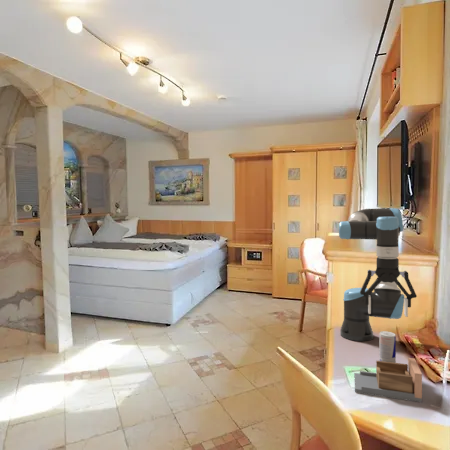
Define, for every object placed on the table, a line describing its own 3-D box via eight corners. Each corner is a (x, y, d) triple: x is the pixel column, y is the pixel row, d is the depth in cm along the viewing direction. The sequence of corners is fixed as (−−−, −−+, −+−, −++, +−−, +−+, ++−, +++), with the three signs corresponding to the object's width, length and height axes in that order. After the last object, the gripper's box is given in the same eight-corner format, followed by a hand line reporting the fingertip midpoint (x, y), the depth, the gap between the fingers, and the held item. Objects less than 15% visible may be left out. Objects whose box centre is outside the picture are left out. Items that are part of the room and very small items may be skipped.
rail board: (354, 376, 127) (354, 351, 127) (414, 384, 120) (414, 358, 120) (355, 392, 116) (355, 365, 115) (421, 402, 109) (421, 374, 109)
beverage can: (397, 376, 126) (397, 336, 126) (381, 375, 128) (381, 335, 127) (393, 369, 132) (393, 331, 131) (377, 368, 133) (377, 330, 132)
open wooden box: (376, 376, 124) (376, 360, 123) (407, 380, 120) (407, 364, 120) (378, 390, 114) (378, 372, 114) (412, 395, 111) (412, 377, 111)
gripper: (353, 257, 129) (353, 314, 129) (426, 259, 121) (425, 320, 121) (353, 255, 136) (353, 309, 136) (421, 257, 128) (421, 314, 128)
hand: (387, 314), depth 129 cm, fingers open, 12 cm apart
